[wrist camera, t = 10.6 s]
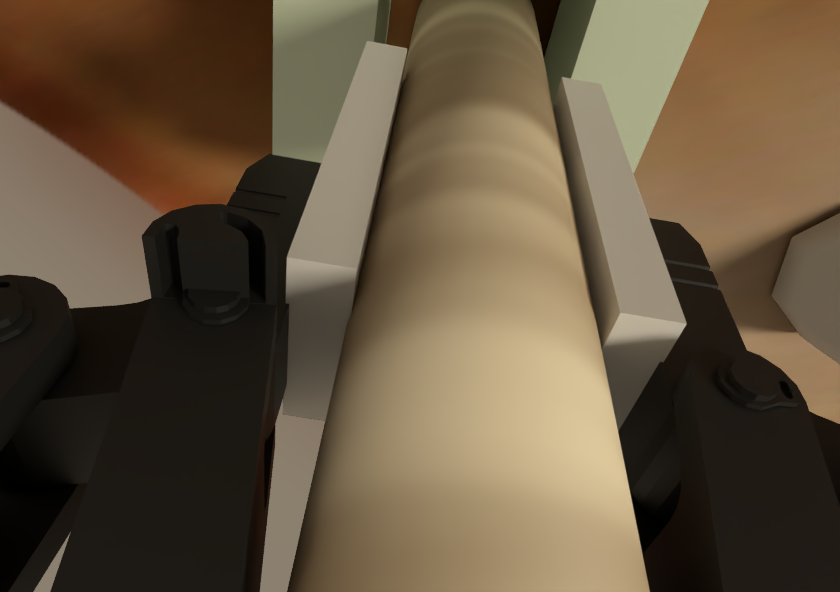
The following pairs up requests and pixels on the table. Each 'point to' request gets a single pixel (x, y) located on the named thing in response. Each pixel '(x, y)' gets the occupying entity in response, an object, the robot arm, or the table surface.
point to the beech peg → (471, 348)
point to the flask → (813, 286)
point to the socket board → (565, 57)
